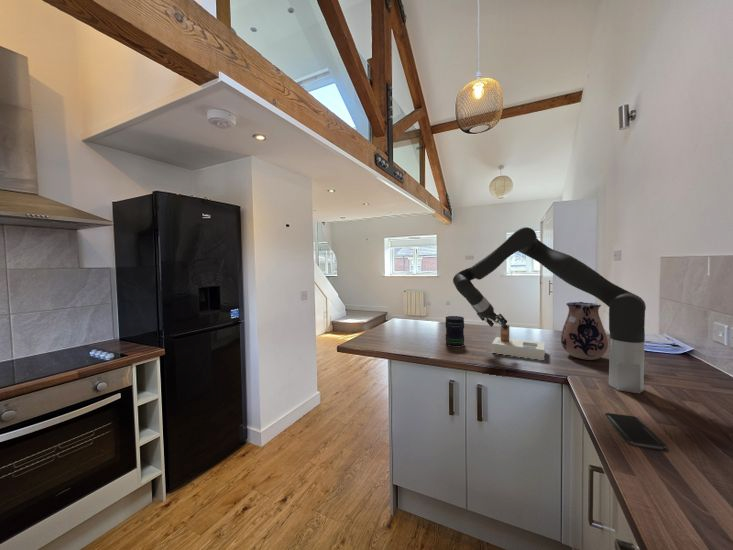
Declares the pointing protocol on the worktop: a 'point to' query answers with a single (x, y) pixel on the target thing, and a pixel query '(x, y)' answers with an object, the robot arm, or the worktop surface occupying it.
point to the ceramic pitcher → (584, 332)
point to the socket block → (519, 348)
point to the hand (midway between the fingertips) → (499, 327)
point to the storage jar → (454, 330)
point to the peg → (505, 334)
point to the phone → (635, 431)
